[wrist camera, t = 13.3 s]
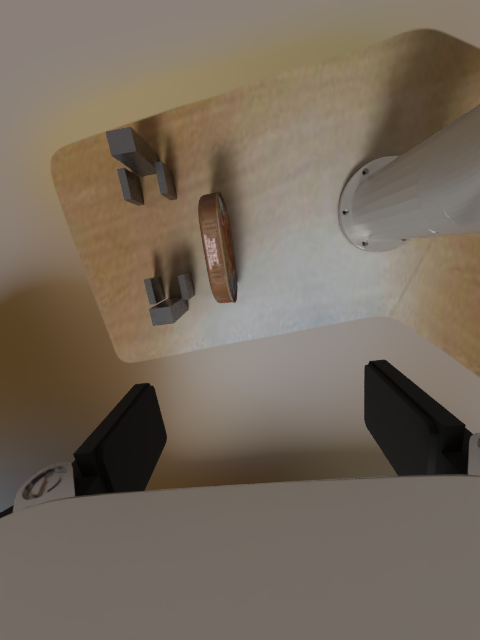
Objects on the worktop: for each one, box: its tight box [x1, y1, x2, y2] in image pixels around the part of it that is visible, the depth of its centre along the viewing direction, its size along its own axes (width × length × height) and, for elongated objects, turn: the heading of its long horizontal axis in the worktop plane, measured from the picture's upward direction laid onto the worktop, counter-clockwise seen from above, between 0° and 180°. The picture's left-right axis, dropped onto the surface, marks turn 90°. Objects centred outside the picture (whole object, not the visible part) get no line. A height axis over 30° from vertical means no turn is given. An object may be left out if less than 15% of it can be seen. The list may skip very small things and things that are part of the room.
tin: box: [198, 192, 237, 303], centre depth 34 cm, size 15×3×8 cm, turn 8°
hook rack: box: [106, 127, 195, 326], centre depth 34 cm, size 6×23×8 cm, turn 8°
